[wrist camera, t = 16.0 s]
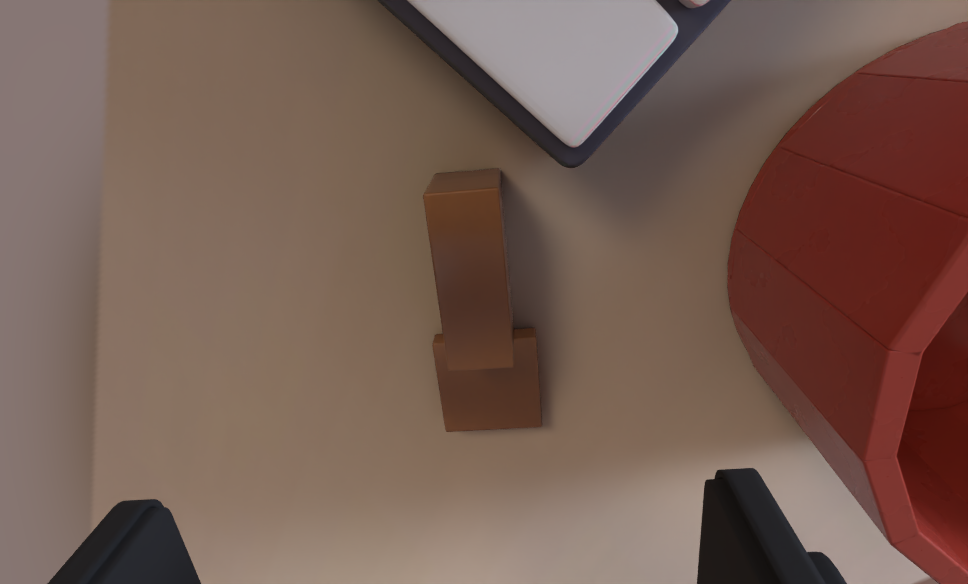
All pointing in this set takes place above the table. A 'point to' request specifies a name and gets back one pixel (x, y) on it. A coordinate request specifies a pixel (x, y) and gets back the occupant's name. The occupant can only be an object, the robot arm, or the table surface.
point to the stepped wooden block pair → (478, 309)
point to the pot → (872, 290)
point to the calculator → (560, 58)
